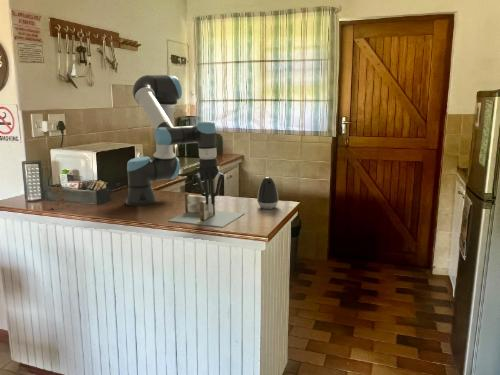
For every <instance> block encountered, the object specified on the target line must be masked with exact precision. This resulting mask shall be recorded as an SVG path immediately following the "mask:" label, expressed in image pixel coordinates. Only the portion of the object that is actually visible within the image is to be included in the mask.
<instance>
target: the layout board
mask: <svg viewBox="0 0 500 375" xmlns="http://www.w3.org/2000/svg"><path fill="white" fill-rule="evenodd" d="M242 216H245V213H243V212H234V211H223V210H215V215H211V216H210V217H208V218H207V219H205V220H203V221H201V220H200V214H194V213H187V212H183V213H181V214H179V215H177V216H174V217H172V218H171V219H168V220H167V222H170V223H179V224H189V225H196V226H204V227H214V228H222V229H223V228H225V227H226V226H228V225H230V224H231V223H233V222H235V221H236V220H237V219H240V218H241V217H242Z"/></svg>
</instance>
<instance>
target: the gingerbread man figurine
mask: <svg viewBox="0 0 500 375" xmlns="http://www.w3.org/2000/svg"><path fill="white" fill-rule="evenodd" d="M62 192H64V193H62ZM54 193H57V194H54ZM51 194H52V195H53V196H56V199H55V203H54V205H53V207H54V206H58V205H62V204H66V203H67V201H66V200H65V199H64V198H65V197H67V196H68V193H67V191H66V190H63V186H62V184H59V183H58V184H55V187H54V188H52V189H51ZM61 199H62V200H63V201H62V200H61ZM57 202H58V203H57ZM60 203H61V204H60Z"/></svg>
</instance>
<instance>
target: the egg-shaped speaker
mask: <svg viewBox="0 0 500 375" xmlns="http://www.w3.org/2000/svg"><path fill="white" fill-rule="evenodd" d="M276 186H277V185H276V183H275V181H274V179H273V178H272V177H269V176H266V177H263V178H262V180H261V181H260V184H259V187H258V192H257V198H256V201H257V204H258V206H259V207H260V208H262V209H264V210H272V209H274V208H275V207H277V205H278V202H279V194H278V189H277V187H276Z"/></svg>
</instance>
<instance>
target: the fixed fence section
mask: <svg viewBox="0 0 500 375" xmlns="http://www.w3.org/2000/svg"><path fill="white" fill-rule="evenodd" d="M209 196H211V194H209ZM205 200H206V197H205V196H202V195H193V194H192V195H191V194H190V193H189V192H184V207H185V208H184V209H185V212H187V213H194V214H200V204H199V202H203V201H205ZM215 206H216V205H215V204H213V215H215V211H216V207H215ZM185 212H184V213H185Z"/></svg>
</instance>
